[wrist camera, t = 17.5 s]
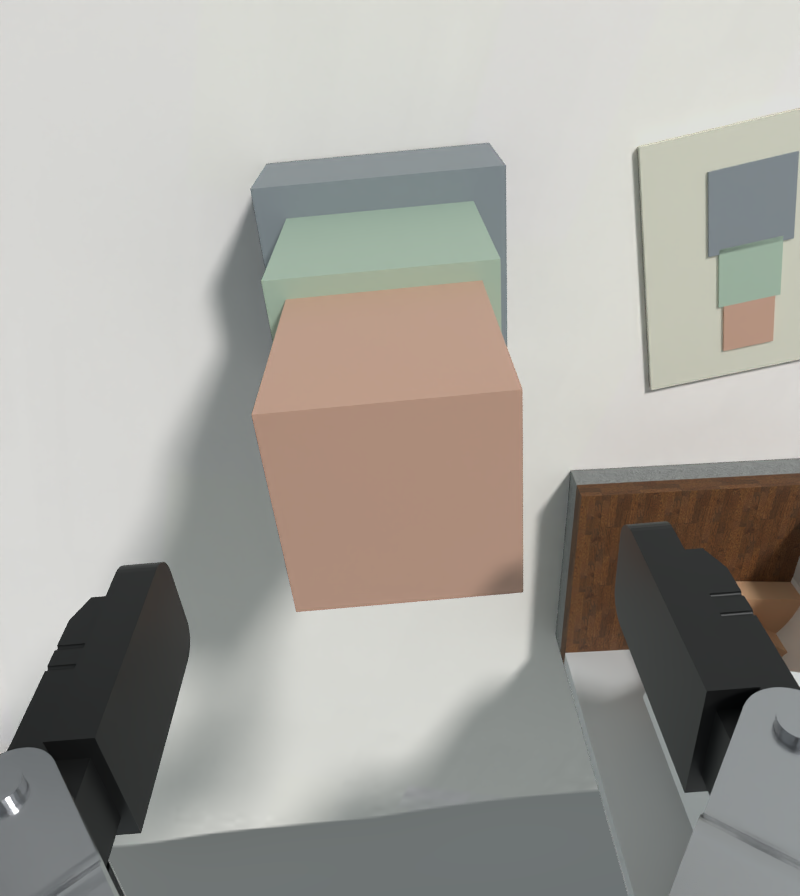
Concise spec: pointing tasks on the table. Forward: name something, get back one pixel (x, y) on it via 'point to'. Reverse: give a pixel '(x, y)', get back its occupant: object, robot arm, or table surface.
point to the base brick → (385, 190)
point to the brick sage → (381, 254)
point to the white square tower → (606, 651)
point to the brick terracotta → (393, 447)
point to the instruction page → (722, 249)
